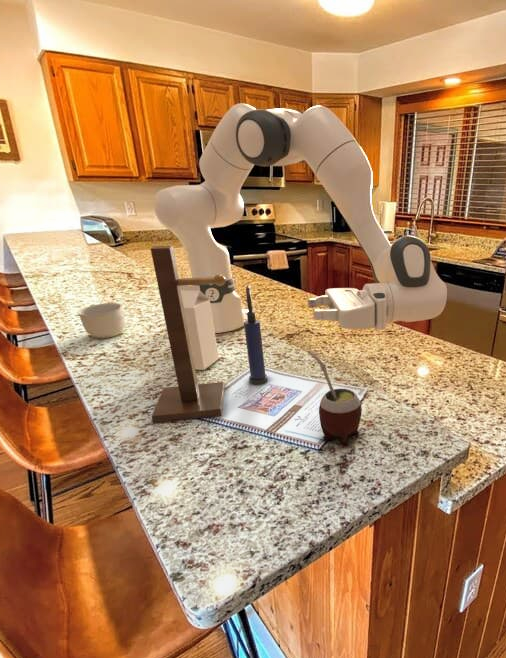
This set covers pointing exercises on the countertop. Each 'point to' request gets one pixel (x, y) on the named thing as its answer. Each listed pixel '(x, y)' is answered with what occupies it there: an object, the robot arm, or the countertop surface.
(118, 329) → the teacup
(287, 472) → the countertop surface
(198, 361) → the milk carton
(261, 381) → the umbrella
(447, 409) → the countertop surface
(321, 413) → the mate gourd
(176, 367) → the coat stand
